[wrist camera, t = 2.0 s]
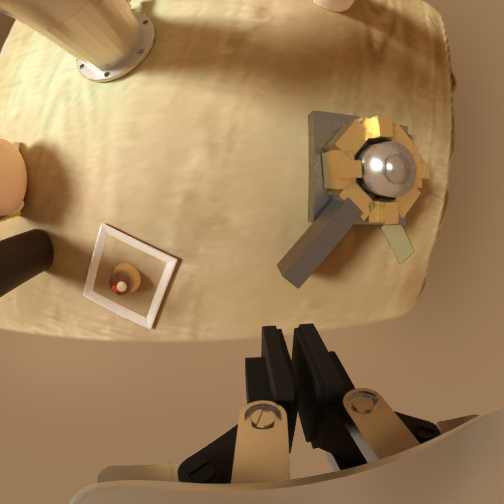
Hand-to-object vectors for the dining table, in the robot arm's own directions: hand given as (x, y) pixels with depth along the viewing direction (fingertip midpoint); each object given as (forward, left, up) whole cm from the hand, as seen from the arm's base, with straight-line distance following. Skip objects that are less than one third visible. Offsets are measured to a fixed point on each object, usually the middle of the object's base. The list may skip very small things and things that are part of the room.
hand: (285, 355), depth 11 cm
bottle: (+1, -34, -25) cm, 42 cm away
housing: (-6, +16, -25) cm, 31 cm away
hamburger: (-11, -38, -25) cm, 47 cm away
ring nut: (-5, +11, -22) cm, 25 cm away
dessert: (+5, -17, -26) cm, 32 cm away
